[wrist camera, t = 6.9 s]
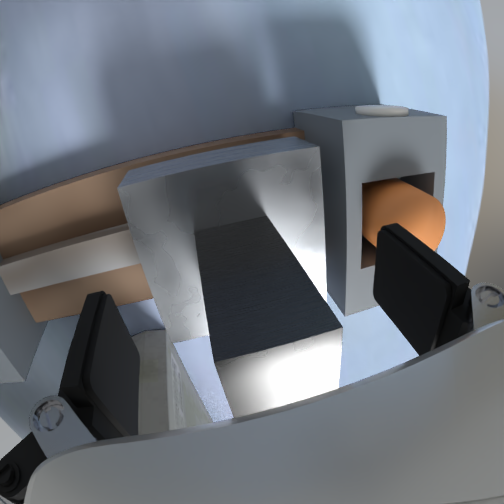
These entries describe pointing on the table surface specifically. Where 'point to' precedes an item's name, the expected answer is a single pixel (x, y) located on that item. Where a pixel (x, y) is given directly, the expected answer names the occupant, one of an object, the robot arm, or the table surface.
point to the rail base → (83, 237)
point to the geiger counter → (165, 387)
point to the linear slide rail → (334, 200)
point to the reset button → (401, 211)
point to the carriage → (242, 265)
